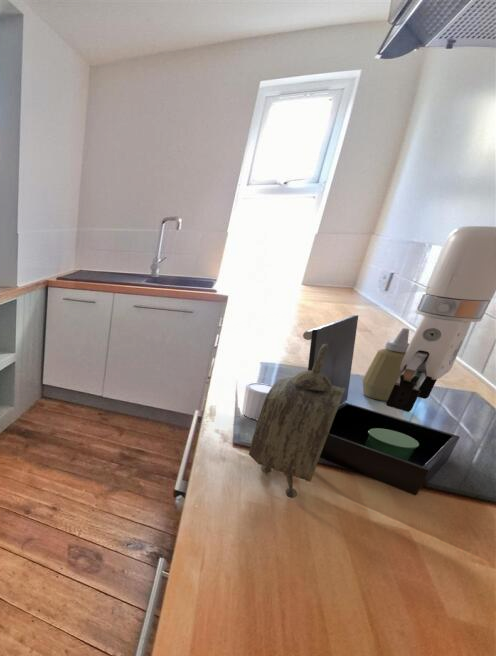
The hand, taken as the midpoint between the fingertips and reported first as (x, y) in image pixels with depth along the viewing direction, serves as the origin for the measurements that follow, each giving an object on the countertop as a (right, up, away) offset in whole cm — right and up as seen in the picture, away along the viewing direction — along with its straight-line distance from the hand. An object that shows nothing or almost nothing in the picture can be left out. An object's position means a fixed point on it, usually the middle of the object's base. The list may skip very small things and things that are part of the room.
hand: (406, 401), depth 74 cm
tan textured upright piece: (-23, -14, +1) cm, 27 cm away
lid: (-6, +6, +8) cm, 12 cm away
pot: (0, -11, +5) cm, 12 cm away
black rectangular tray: (-1, -11, +7) cm, 13 cm away
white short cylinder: (-12, -4, +23) cm, 26 cm away
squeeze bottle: (+25, 0, +32) cm, 41 cm away
